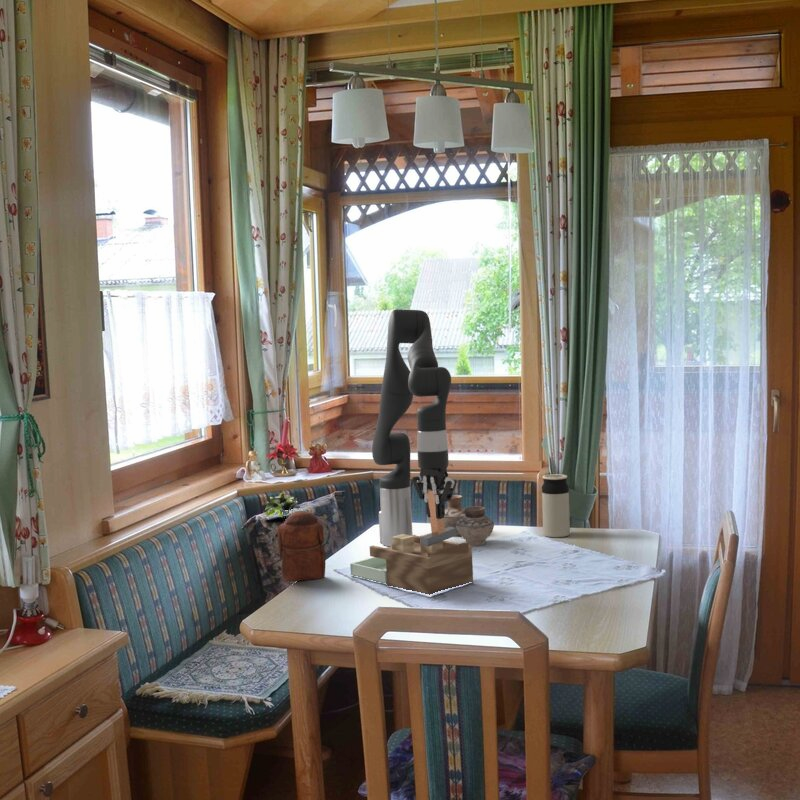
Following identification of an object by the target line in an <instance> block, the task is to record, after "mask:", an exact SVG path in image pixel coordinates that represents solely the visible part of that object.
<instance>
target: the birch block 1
mask: <svg viewBox="0 0 800 800" xmlns="http://www.w3.org/2000/svg"><path fill="white" fill-rule="evenodd" d="M392 550H397V551H402V552H407V553H412V552H415V549H414V536H410V535H405V534H401V535H398V536H394V537H392Z"/></svg>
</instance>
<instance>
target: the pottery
mask: <svg viewBox="0 0 800 800" xmlns="http://www.w3.org/2000/svg"><path fill="white" fill-rule="evenodd" d="M462 500H463V496H462V495H460V494H453V495H452V498H451V500H450V501H447V502H446V503H447V507H445V516H444V525H445V528H447V527H455V528H456V531H457V536H456V537H459V536H460V537H461V538H462V539H464V540H465V542H466V543H468V545H469V546H472V547H478V546H483V545H486V540H487V539H488V538H489V537H490V536H491V535H492V532H493V530H494V528H495V527H494V526H495V522H494V521H495V520H493V519H491V518H490V517H488V516H486V515H485V514H486V508H485V507H484V506H478V505H477V506H466V507H462Z"/></svg>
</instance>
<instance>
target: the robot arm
mask: <svg viewBox="0 0 800 800" xmlns="http://www.w3.org/2000/svg"><path fill="white" fill-rule="evenodd" d="M387 325H388V326H387V337H386V338H387V340H386V341H387V342H386V355H385V364H384V365H385V366H384V371H383V375H382V376H383V377H382V383H381V389H380V401H379V410H378V411H379V412H378V418H377V420H376V421H377V423H376V427H375V431H374V436H373V439H372V449H371V454H372V459H373V461H374V463H375V464H376V465H379V466H391V465H395V466H394V468H393V470H392V471H390V472H388V473H387V474H385V475H383V476H381V477H380V478H379V482H378V485H379V498H380V499H379V501H380V510H379V512H378V525H379V526H378V527H379V530H378V531H379V543H380V544H382V545H383V546H386V547H391V546H392V537H394V536H398V535H401V534H405V535H410V536H411V535H413V517H412V515H413V514H412V498H411V497H412V495H411V494H412V493H411V480H412V482H413V485H414V488H415V490H416V492H417V496H418V498H419V499H420V500H422V501H423V500H424V503H425V506H426V510H425V511H426V515H427V518H430V511H429V503H428V490H429V489H432V490H433V494H434V495H435V501H436V518H437V519H442V518H444V516H445V509H446V507H445V505H446V503H447V501H450V500H451V498H452V495H454V491H455V489H456V485H457V482H458V481H457V480H456V479H452V478H451V477H449V473H448V467H449V464H450V463H449V462H450V461H449V448H448V447H449V443H448V442H449V441H448V436H447V435H448V434H447V422H446V421H447V420H446V419H447V418H446V413H447V411H446V409H447V403H448V398H449V395H450V389H451V386H452V375H451V373H450V371H449V370H448V369H447V368H446V367H443V366H439V362H438V359H437V357H436V354H435V351H434V348H433V347H434V346H433V345H434V344H433V336H432V328H431V321H430V317H429V315H428V312H426V311H424V310H419V309H406V308H405V309H398V308H397V309H394V310H392V311H391V313H390V315H389V319H388V323H387ZM401 344H410V345H411V346H410V347H409V349H408V351H407V360H408V364H409V365H407V364H406V362H405V360H404V358H403V356H402V353H401V352H400V351H401V350H400V345H401ZM408 366H409V367H408ZM414 397H419V398H422V397H436V398H435V400H434V401H433V402H432V403H430V404H428V405H424V406H421V407H418V409H417V410H416V422H417V436H416V444H417V447H416V449H417V466H418V468H419V469H420V471H419V474H418V475H417V476H413V477H412V478H411V444H410V443H411V442H410V438H409V436H408V435H407V433H404V432H395V433H394V432H393V433H391V432H392V429H393V428H394V426H395V425H396V424H397V423H398V421H399V420H401V418H402V417H403V416H404V414H405V413H406V412H407V411H408V410H409V408H410V406H411V405H412V402H413V398H414ZM439 489H441V490H440V491H438V490H439ZM440 495H441V498H440Z"/></svg>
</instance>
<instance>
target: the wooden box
mask: <svg viewBox="0 0 800 800" xmlns="http://www.w3.org/2000/svg"><path fill="white" fill-rule="evenodd" d="M411 536H414V549H415V552H412V553H407V552H402V551H397V550H392V546H387V547H383V546H378V545H370V546H369V556H370V557H371V558H372V557H377V558H381V559H386V570H387V585H388V586H393V587H398V588H403V589H406V590H412V591H417V592H421V593H425V594H429V595H430V594H433V593H435V592H438V591H441V590H445V589H448V588H452V587H456V586H459V585H463V584H466V583H469V582H473V583H474V567H473V546H470V545H468V543H466V541H464V542H462V543H457V542H453V541H452V542H451V541H447V540H444V541H443V549H440V550H436V551H432V552H429V553H427V552H422V551H421V546H420V536H421V535H414V534H412V535H411ZM387 585H386V586H387Z"/></svg>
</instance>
